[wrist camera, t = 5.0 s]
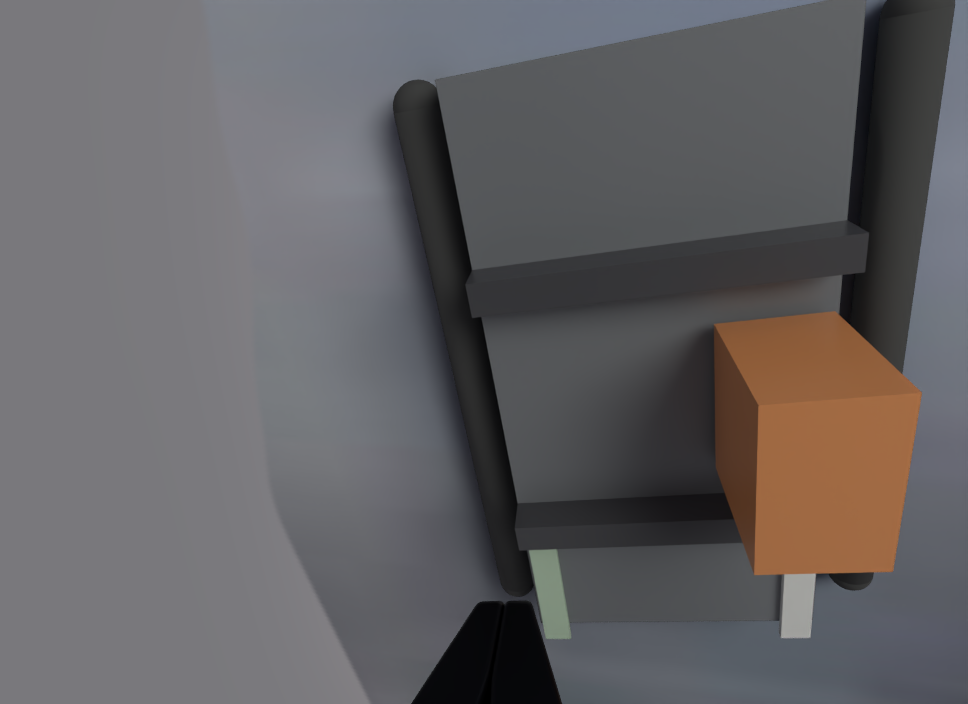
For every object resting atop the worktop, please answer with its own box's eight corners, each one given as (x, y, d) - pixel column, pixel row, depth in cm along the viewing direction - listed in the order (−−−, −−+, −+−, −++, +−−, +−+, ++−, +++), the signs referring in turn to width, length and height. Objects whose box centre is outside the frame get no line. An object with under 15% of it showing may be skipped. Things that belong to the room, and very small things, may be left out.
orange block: (822, 460, 14) (893, 571, 11) (715, 467, 15) (753, 575, 12) (835, 310, 13) (922, 392, 9) (714, 324, 13) (758, 405, 10)
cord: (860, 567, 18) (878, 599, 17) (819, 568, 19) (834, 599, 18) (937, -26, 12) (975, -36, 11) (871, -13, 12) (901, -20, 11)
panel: (788, 578, 19) (824, 662, 16) (545, 584, 21) (541, 661, 18) (823, 2, 12) (894, -14, 9) (452, 77, 14) (423, 81, 11)
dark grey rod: (538, 576, 20) (536, 604, 19) (505, 576, 21) (501, 605, 20) (443, 74, 14) (432, 75, 13) (395, 84, 14) (380, 86, 13)
